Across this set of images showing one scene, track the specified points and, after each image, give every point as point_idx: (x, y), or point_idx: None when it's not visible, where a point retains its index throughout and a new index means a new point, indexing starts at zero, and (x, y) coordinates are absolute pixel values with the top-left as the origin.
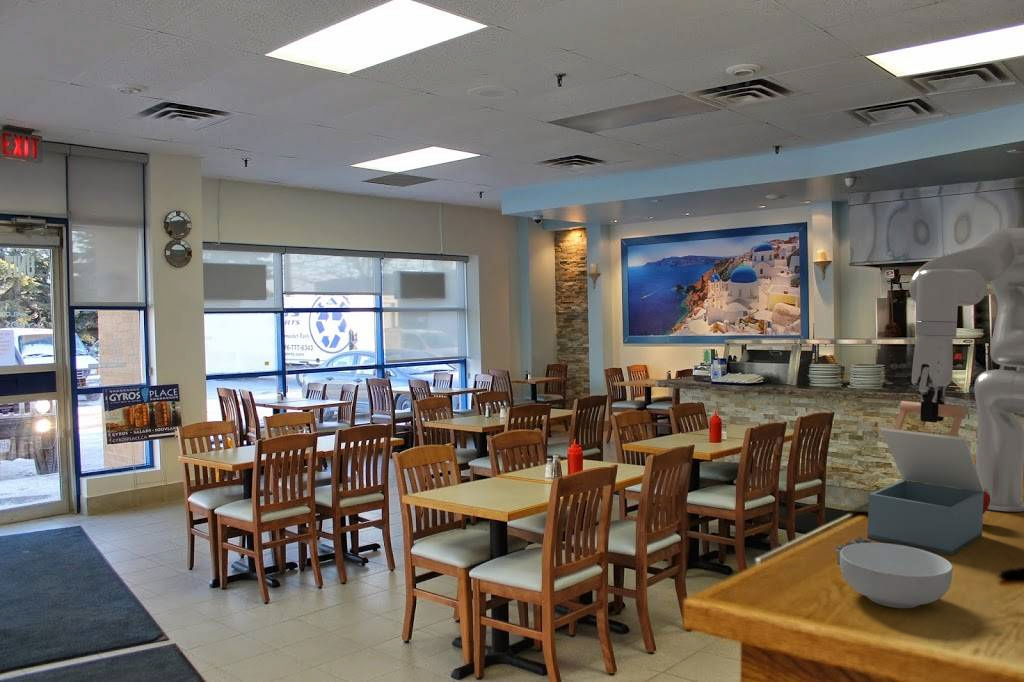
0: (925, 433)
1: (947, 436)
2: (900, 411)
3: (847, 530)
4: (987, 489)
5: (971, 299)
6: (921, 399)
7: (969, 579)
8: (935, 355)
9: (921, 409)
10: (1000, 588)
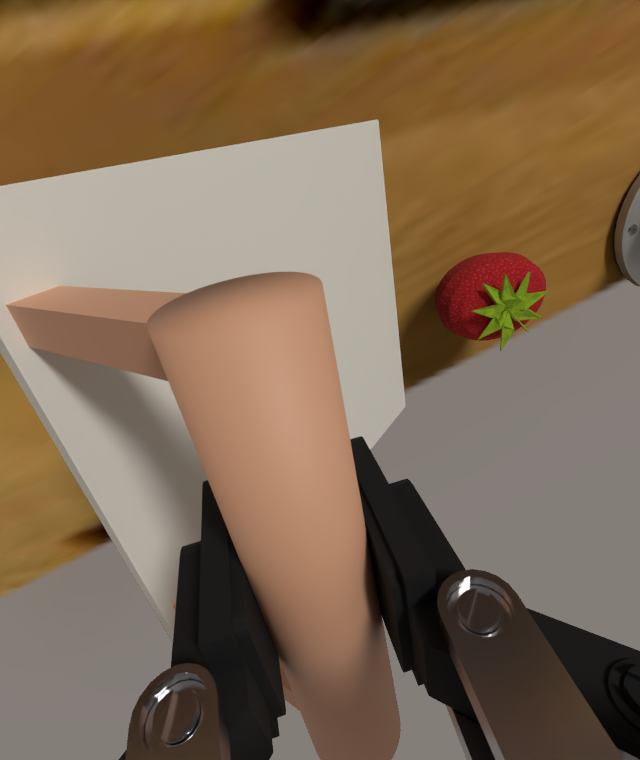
0: (110, 524)
1: (157, 613)
2: (136, 330)
3: (43, 82)
4: (502, 347)
5: None
6: (134, 723)
7: (29, 507)
8: None
9: (201, 563)
10: (45, 552)
